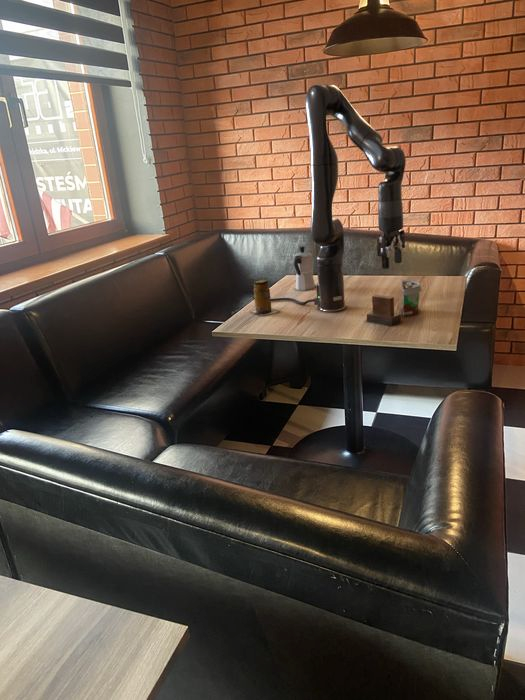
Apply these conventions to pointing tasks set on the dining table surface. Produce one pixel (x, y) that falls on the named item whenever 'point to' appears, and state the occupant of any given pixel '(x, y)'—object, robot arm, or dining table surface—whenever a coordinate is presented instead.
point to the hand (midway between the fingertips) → (392, 265)
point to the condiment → (262, 298)
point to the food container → (410, 297)
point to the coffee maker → (303, 270)
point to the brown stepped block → (383, 311)
